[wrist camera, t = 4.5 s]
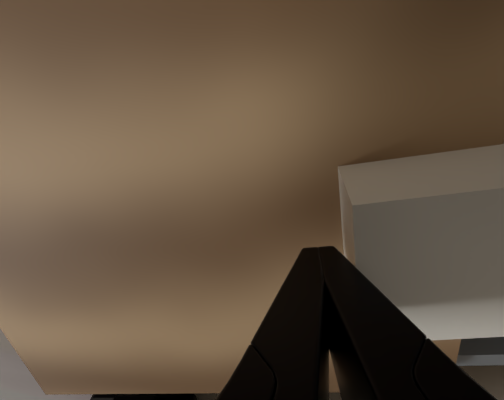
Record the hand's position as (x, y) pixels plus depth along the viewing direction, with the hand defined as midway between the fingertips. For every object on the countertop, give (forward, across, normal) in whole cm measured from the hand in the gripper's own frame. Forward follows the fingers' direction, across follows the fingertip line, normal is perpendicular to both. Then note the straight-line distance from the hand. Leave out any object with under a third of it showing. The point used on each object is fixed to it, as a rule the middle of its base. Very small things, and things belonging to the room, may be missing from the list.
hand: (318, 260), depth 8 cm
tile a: (+1, -3, 0) cm, 3 cm away
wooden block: (+5, +4, 0) cm, 6 cm away
